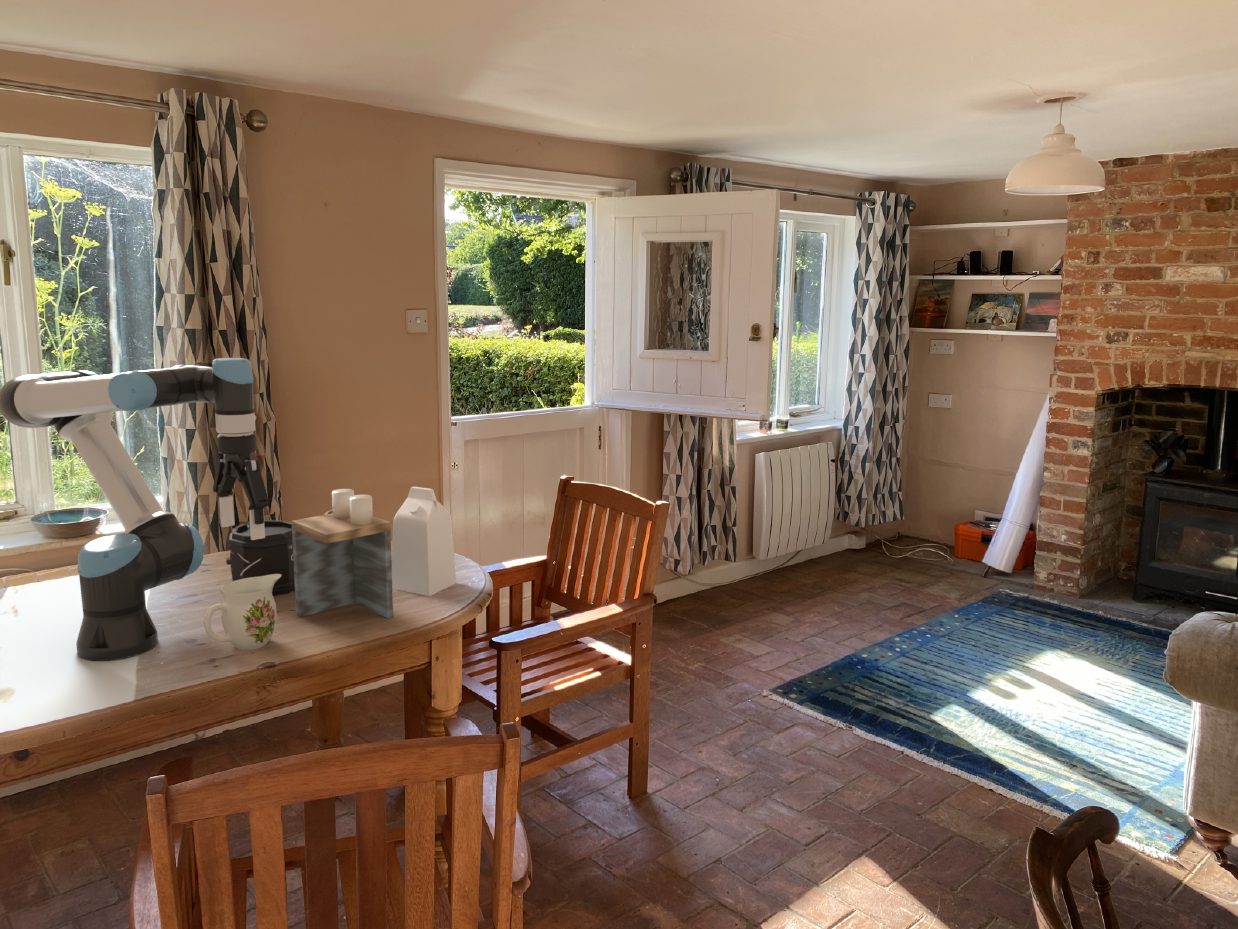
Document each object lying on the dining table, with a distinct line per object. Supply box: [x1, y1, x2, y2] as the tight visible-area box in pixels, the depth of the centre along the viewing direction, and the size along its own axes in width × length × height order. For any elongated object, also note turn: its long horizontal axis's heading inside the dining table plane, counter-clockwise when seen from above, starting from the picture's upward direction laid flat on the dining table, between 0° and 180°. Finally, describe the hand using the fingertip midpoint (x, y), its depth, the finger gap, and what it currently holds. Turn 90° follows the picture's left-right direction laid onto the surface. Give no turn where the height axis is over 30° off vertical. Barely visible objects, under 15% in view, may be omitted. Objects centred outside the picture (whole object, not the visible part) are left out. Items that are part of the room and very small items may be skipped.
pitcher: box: [203, 574, 281, 651], centre depth 194 cm, size 11×18×14 cm, turn 144°
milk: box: [391, 486, 457, 597], centre depth 234 cm, size 12×12×26 cm
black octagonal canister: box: [225, 519, 295, 597], centre depth 231 cm, size 18×18×16 cm
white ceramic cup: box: [349, 494, 374, 525], centre depth 208 cm, size 5×5×6 cm
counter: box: [291, 513, 394, 619], centre depth 211 cm, size 16×16×23 cm
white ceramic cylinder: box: [331, 488, 355, 519], centre depth 213 cm, size 5×5×6 cm
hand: (242, 532), depth 192 cm, fingers open, 13 cm apart
